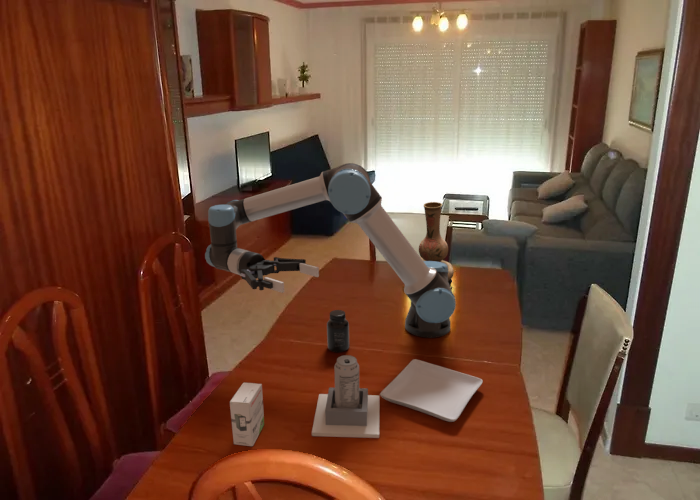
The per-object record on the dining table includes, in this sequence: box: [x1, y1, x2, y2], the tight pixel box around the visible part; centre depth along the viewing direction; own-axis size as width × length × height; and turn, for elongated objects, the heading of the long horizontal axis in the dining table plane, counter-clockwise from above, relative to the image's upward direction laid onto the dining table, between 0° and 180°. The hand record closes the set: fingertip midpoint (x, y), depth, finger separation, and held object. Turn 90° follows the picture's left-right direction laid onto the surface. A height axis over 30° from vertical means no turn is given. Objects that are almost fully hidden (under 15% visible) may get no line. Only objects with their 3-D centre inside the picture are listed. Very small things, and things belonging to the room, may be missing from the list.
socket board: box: [311, 387, 381, 439], centre depth 133 cm, size 16×16×5 cm
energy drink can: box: [333, 354, 360, 409], centre depth 131 cm, size 6×6×15 cm
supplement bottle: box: [326, 309, 350, 353], centre depth 166 cm, size 7×7×12 cm
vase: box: [418, 201, 455, 290], centre depth 208 cm, size 24×22×35 cm
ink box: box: [229, 382, 265, 447], centre depth 126 cm, size 9×5×12 cm, turn 169°
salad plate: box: [379, 358, 484, 423], centre depth 142 cm, size 21×21×3 cm
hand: (301, 279), depth 142 cm, fingers open, 13 cm apart
